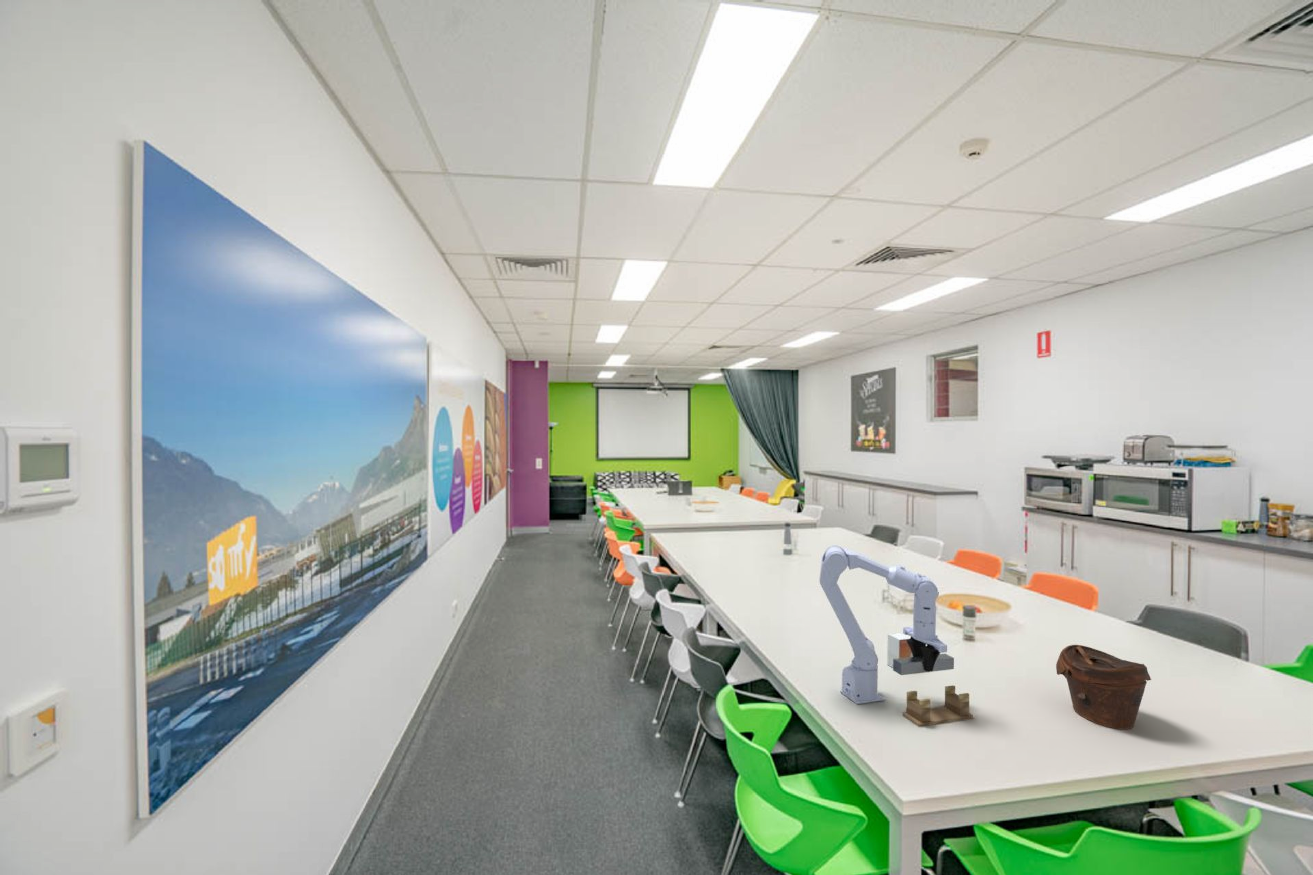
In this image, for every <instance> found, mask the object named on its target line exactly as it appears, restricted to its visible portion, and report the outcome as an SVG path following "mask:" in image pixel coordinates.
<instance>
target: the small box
mask: <svg viewBox="0 0 1313 875" xmlns="http://www.w3.org/2000/svg"><path fill="white" fill-rule="evenodd" d="M910 638H911V636H909V635H905V634H903V632H902V633H901V632H899V633H888V634H887V654H886V655H887V657H886V658H887V659H886V660H887V666H889V667H890V668H892V669H893V659H898V658H908V657H913V655H912V652H911V649H910V647H909V645H908V643H907V639H910Z"/></svg>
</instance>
